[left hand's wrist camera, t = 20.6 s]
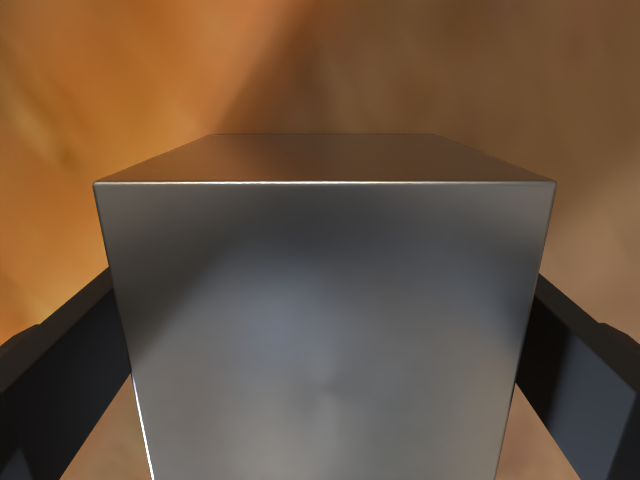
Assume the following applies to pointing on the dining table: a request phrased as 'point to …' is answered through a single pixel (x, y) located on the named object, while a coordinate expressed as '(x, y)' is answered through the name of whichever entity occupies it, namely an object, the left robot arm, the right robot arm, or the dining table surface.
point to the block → (324, 303)
